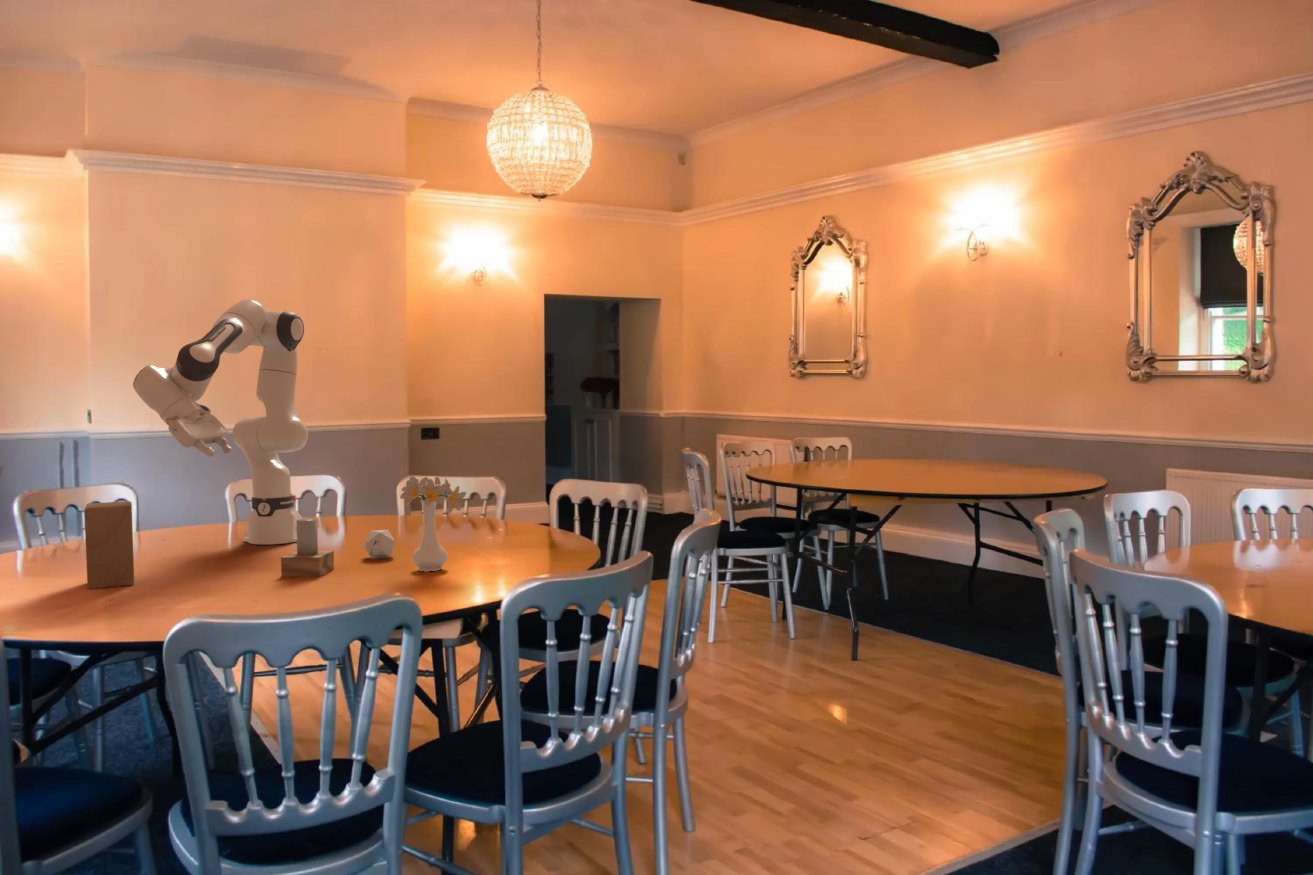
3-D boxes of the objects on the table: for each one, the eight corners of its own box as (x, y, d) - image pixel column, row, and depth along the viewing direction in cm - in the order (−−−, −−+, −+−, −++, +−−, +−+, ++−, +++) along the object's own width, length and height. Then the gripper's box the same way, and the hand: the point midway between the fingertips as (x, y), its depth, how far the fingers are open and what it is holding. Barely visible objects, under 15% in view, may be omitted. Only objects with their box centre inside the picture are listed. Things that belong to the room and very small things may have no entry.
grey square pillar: (301, 552, 262) (301, 518, 261) (321, 552, 261) (320, 518, 261) (293, 555, 256) (293, 521, 256) (313, 555, 256) (312, 521, 256)
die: (358, 559, 281) (359, 536, 275) (374, 541, 287) (376, 517, 281) (383, 570, 279) (385, 547, 274) (399, 551, 286) (401, 528, 280)
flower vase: (452, 576, 254) (450, 480, 252) (389, 572, 259) (387, 478, 258) (475, 567, 266) (474, 475, 265) (415, 563, 272) (414, 473, 270)
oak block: (297, 568, 264) (296, 550, 264) (333, 569, 264) (333, 550, 264) (281, 576, 254) (281, 557, 254) (319, 576, 254) (319, 557, 254)
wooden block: (87, 589, 239) (84, 508, 238) (89, 581, 248) (86, 503, 247) (134, 585, 244) (131, 505, 243) (134, 578, 253) (131, 500, 252)
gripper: (170, 409, 249) (209, 447, 249) (210, 406, 270) (246, 442, 270) (154, 426, 250) (193, 465, 250) (195, 422, 270) (231, 458, 270)
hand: (221, 453), depth 260 cm, fingers open, 8 cm apart
